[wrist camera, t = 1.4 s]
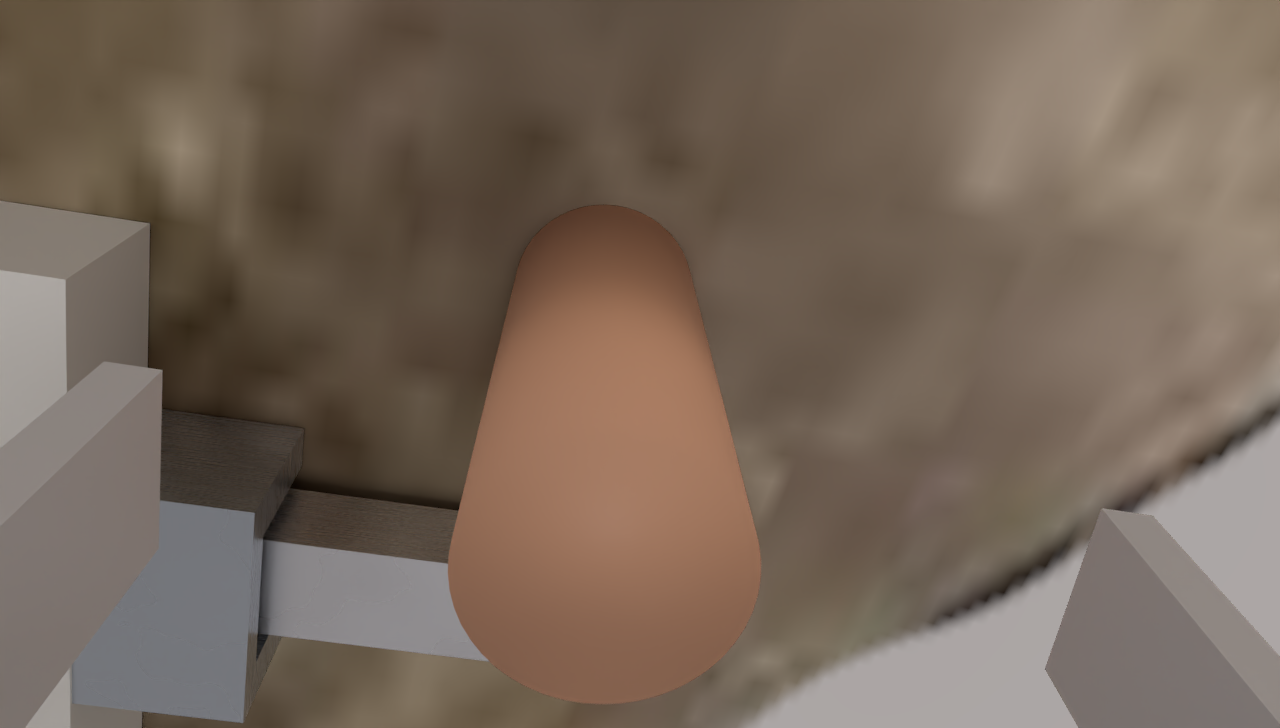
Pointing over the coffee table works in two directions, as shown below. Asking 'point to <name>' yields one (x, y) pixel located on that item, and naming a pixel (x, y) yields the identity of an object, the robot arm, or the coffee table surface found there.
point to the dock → (67, 344)
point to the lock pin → (361, 575)
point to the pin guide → (197, 577)
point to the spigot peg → (604, 475)
